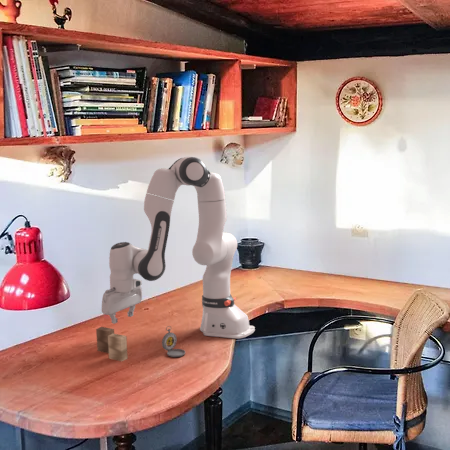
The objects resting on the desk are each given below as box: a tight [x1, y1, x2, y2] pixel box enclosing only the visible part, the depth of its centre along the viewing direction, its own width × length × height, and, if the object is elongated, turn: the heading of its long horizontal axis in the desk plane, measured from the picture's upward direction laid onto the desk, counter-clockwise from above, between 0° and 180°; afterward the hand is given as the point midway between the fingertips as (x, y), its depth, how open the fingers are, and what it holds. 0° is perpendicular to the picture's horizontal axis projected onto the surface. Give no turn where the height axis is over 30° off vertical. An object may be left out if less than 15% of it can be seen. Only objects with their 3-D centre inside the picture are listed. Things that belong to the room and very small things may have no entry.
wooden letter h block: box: [95, 326, 115, 354], centre depth 230 cm, size 6×3×8 cm, turn 60°
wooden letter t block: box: [108, 333, 128, 362], centre depth 222 cm, size 6×3×8 cm, turn 60°
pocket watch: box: [161, 325, 186, 358], centre depth 225 cm, size 8×8×10 cm
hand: (122, 319), depth 239 cm, fingers open, 8 cm apart
